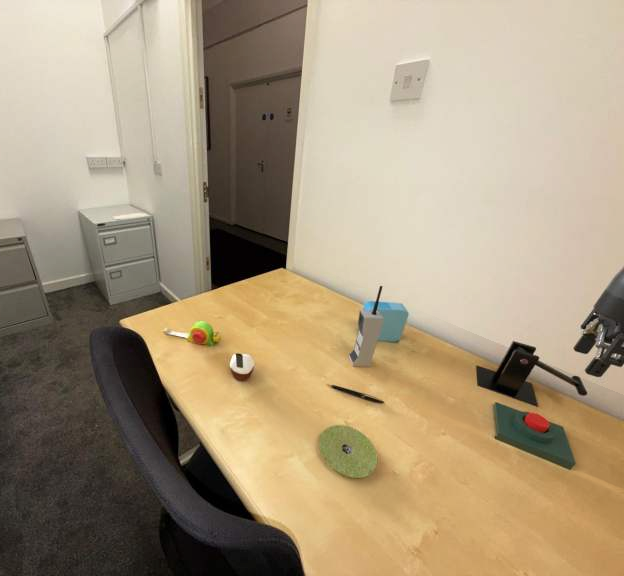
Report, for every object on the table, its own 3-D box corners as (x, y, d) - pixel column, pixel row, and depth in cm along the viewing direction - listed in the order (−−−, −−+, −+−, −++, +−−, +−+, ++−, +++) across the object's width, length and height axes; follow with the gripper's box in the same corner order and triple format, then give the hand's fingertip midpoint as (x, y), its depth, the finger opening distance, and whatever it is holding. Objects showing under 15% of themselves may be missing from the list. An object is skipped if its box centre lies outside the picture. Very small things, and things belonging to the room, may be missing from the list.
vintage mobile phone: (348, 357, 88) (366, 282, 76) (365, 358, 87) (386, 282, 76) (352, 366, 84) (371, 289, 72) (369, 367, 84) (392, 289, 72)
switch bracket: (529, 386, 79) (554, 348, 73) (536, 409, 72) (563, 370, 66) (474, 368, 84) (493, 331, 78) (475, 388, 78) (496, 349, 72)
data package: (394, 334, 98) (404, 303, 92) (399, 342, 94) (410, 310, 88) (357, 331, 99) (364, 300, 94) (360, 339, 95) (368, 307, 90)
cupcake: (240, 362, 85) (241, 327, 80) (259, 370, 82) (261, 335, 77) (220, 382, 78) (220, 346, 72) (241, 393, 75) (241, 356, 70)
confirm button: (544, 423, 64) (548, 417, 64) (547, 435, 62) (551, 430, 61) (522, 415, 66) (526, 409, 65) (525, 427, 64) (528, 421, 63)
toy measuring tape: (216, 351, 89) (215, 333, 86) (159, 337, 95) (157, 320, 91) (224, 339, 95) (223, 321, 91) (170, 326, 100) (168, 310, 97)
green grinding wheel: (387, 473, 58) (390, 467, 57) (337, 491, 55) (339, 484, 54) (352, 425, 67) (354, 419, 67) (308, 437, 65) (309, 431, 64)
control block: (558, 433, 66) (567, 421, 65) (570, 470, 59) (581, 458, 57) (491, 407, 72) (498, 396, 70) (494, 439, 65) (502, 427, 63)
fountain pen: (324, 387, 77) (325, 383, 77) (325, 384, 78) (326, 380, 78) (384, 406, 72) (385, 401, 72) (384, 402, 73) (385, 398, 72)
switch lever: (574, 382, 72) (584, 377, 70) (581, 397, 68) (591, 392, 66) (510, 348, 76) (518, 342, 75) (513, 360, 72) (521, 354, 71)
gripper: (690, 319, 47) (624, 392, 55) (649, 286, 58) (599, 351, 65) (622, 304, 51) (569, 374, 59) (595, 276, 61) (553, 338, 69)
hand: (585, 362), depth 62 cm, fingers open, 8 cm apart
